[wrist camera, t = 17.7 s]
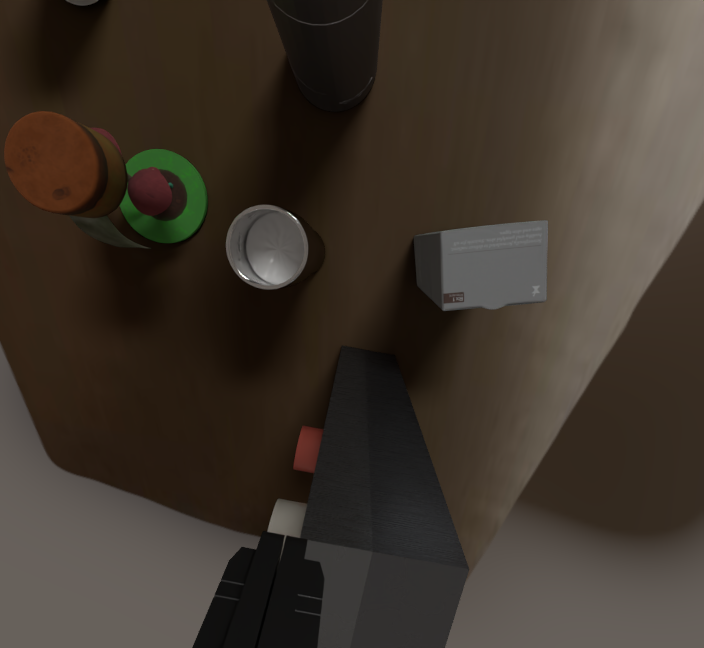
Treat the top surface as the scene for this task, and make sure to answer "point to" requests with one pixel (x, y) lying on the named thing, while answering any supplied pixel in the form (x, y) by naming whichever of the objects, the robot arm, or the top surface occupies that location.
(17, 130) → the mushroom figurine
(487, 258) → the skincare box
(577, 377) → the top surface
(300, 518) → the white cylinder
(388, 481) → the tall grey block
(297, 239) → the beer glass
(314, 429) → the red button
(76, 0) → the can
